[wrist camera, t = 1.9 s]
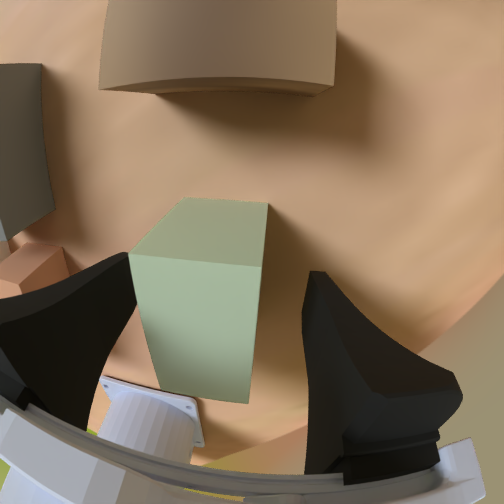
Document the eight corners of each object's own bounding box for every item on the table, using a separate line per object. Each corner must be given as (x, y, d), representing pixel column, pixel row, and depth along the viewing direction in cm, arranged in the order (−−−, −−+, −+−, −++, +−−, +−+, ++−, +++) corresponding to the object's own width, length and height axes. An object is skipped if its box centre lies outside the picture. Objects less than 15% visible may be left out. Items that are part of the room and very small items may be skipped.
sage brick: (257, 319, 14) (248, 404, 9) (191, 311, 14) (161, 389, 9) (268, 202, 11) (261, 267, 6) (184, 196, 11) (128, 253, 7)
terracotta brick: (88, 326, 16) (59, 369, 12) (54, 316, 16) (25, 353, 12) (63, 245, 13) (18, 284, 9) (28, 241, 13) (-13, 274, 9)
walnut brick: (316, 18, 7) (336, -27, 4) (312, 97, 9) (333, 86, 5) (161, 19, 8) (111, -12, 4) (155, 94, 9) (98, 89, 6)
